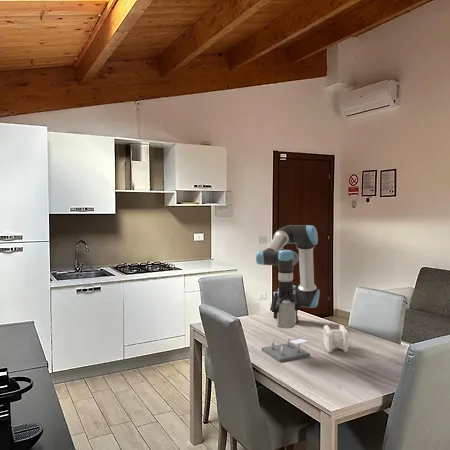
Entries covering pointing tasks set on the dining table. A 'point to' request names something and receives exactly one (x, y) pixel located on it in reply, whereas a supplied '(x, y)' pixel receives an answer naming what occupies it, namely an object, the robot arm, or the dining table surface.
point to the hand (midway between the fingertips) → (285, 323)
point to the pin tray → (285, 351)
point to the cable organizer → (335, 338)
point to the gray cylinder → (286, 314)
